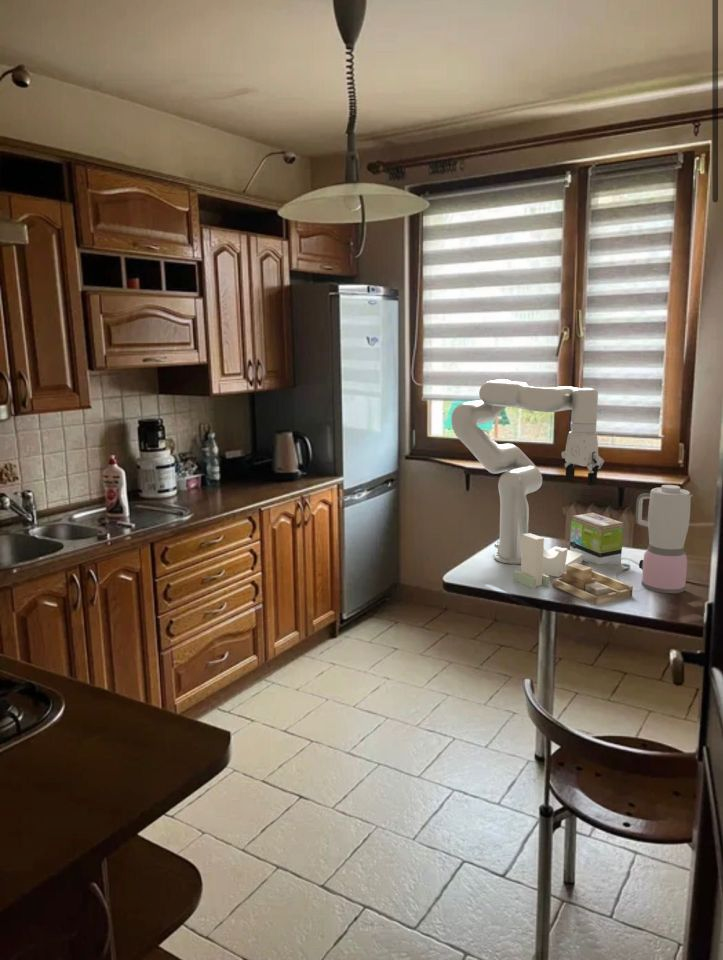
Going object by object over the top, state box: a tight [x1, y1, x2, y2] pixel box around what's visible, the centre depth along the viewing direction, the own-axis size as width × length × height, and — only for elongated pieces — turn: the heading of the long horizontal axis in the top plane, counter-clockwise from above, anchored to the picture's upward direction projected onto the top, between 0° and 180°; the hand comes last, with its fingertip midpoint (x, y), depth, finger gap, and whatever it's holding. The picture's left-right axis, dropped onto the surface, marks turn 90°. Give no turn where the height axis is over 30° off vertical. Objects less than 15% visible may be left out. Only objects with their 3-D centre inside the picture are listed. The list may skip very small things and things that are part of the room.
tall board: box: [520, 532, 545, 587], centre depth 218 cm, size 6×3×15 cm, turn 26°
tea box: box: [569, 512, 624, 566], centre depth 243 cm, size 15×10×15 cm, turn 25°
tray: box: [552, 570, 634, 605], centre depth 212 cm, size 18×14×4 cm
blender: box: [635, 484, 694, 594], centre depth 213 cm, size 16×12×32 cm
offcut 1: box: [566, 563, 593, 580], centre depth 213 cm, size 6×4×3 cm, turn 35°
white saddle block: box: [542, 546, 583, 578], centre depth 233 cm, size 18×10×10 cm, turn 141°
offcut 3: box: [585, 583, 608, 596], centre depth 206 cm, size 5×4×4 cm
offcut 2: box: [561, 572, 595, 591], centre depth 213 cm, size 9×4×4 cm, turn 27°
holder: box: [513, 570, 550, 590], centre depth 219 cm, size 10×8×4 cm
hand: (580, 482), depth 224 cm, fingers open, 9 cm apart
